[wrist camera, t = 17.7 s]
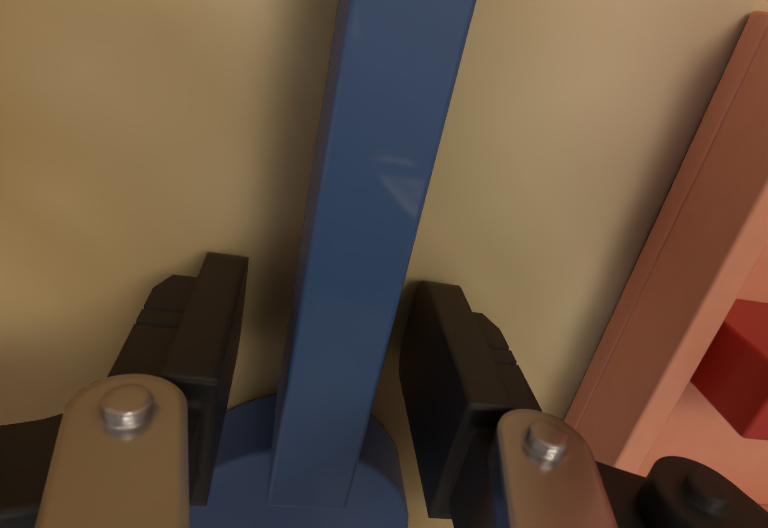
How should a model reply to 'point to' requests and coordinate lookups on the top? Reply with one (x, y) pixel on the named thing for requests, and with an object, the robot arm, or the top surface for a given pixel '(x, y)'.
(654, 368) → the red tray
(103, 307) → the top surface
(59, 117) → the top surface
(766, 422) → the red spoon
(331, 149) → the blue spoon
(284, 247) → the top surface
